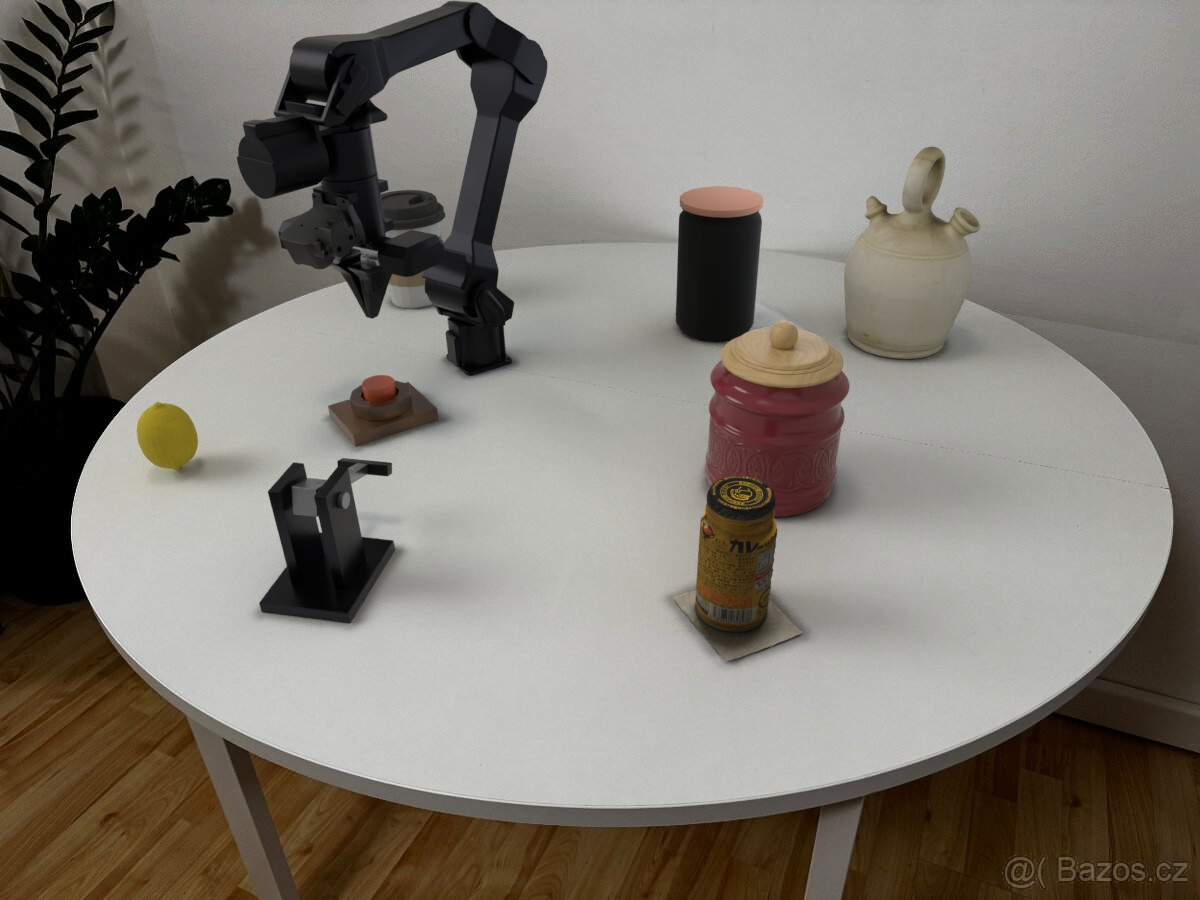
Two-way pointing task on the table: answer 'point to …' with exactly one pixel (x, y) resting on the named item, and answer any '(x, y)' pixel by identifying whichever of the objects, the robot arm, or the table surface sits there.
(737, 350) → the kitchen canister
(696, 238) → the coffee jar
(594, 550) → the table surface
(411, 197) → the coffee cup
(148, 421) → the lemon
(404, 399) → the button block
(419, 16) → the robot arm
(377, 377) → the button
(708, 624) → the condiment
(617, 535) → the table surface
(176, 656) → the table surface
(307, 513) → the control lever
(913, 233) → the jug
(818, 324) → the table surface
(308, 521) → the lever bracket
